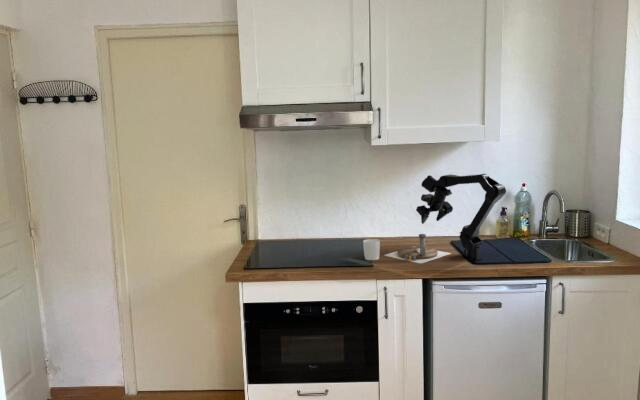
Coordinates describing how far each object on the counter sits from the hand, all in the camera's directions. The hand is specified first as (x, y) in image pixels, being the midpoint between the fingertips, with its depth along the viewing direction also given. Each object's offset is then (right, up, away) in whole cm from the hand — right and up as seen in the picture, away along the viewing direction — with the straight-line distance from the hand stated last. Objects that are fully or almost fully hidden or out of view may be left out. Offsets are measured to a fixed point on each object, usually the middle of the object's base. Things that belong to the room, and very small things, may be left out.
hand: (429, 222), depth 254 cm
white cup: (-30, -18, -13) cm, 38 cm away
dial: (-8, -15, -10) cm, 20 cm away
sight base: (-8, -17, -10) cm, 21 cm away
